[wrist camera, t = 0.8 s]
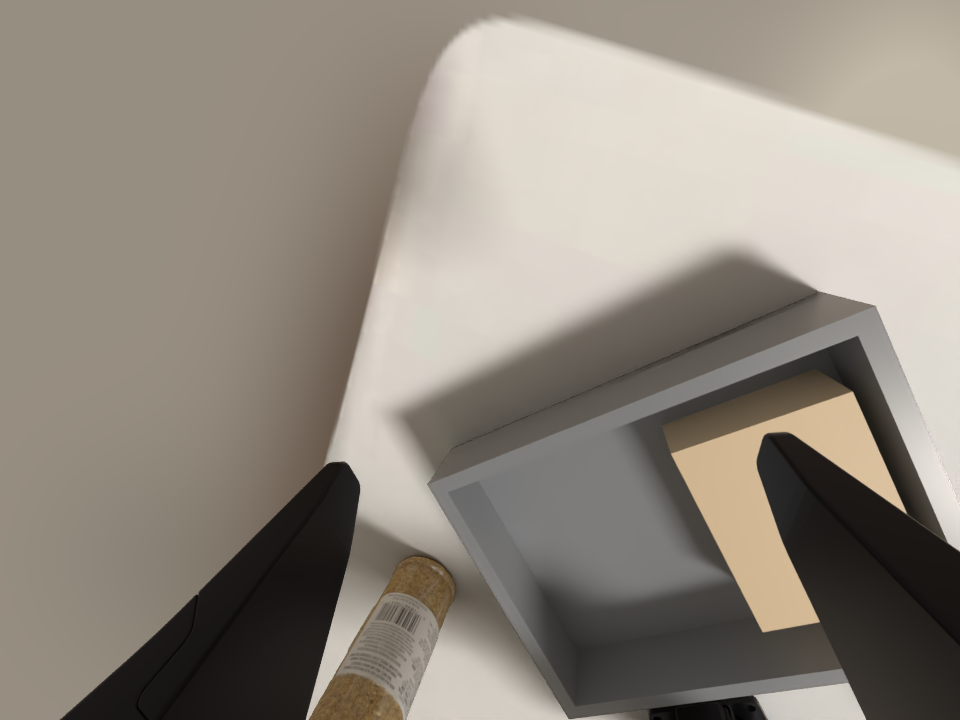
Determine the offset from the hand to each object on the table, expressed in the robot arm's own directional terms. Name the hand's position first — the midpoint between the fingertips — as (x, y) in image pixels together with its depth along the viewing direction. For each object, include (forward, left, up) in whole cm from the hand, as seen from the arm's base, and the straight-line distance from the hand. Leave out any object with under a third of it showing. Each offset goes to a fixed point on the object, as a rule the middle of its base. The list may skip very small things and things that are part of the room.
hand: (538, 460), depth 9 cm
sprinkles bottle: (-11, +17, -14) cm, 24 cm away
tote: (-11, 0, -14) cm, 18 cm away
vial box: (-11, -5, -13) cm, 18 cm away
